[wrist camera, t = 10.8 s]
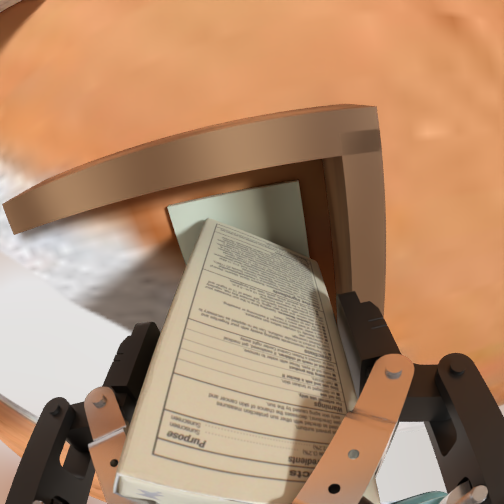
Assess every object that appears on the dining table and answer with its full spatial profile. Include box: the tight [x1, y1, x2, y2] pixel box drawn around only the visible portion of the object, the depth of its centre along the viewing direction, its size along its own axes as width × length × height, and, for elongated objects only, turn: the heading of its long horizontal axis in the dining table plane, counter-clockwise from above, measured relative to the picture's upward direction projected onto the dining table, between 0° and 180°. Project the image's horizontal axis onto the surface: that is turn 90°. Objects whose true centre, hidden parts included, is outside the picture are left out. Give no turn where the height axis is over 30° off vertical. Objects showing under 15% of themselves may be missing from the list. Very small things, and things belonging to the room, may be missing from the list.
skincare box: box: [113, 218, 380, 504], centre depth 11 cm, size 6×4×12 cm
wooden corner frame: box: [2, 104, 386, 400], centre depth 16 cm, size 16×19×4 cm
